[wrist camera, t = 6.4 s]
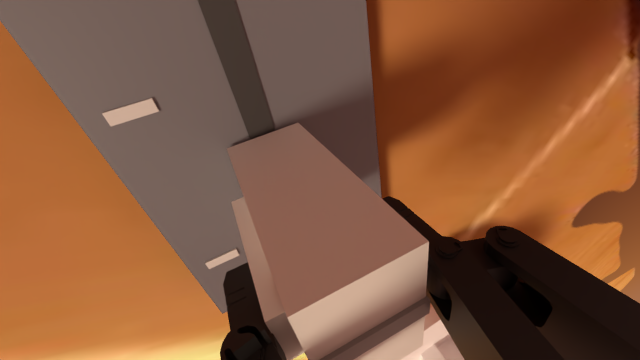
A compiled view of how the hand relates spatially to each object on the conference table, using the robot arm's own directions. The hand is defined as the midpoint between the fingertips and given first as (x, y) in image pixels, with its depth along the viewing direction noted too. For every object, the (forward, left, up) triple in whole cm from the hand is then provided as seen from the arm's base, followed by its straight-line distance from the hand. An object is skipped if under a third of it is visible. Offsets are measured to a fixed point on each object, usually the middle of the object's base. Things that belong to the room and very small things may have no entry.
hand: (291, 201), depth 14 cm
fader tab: (0, 0, -2) cm, 2 cm away
